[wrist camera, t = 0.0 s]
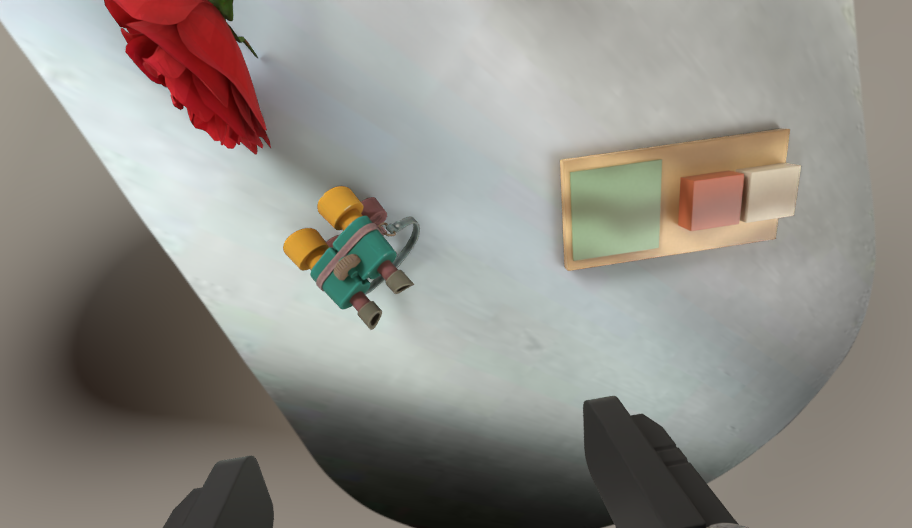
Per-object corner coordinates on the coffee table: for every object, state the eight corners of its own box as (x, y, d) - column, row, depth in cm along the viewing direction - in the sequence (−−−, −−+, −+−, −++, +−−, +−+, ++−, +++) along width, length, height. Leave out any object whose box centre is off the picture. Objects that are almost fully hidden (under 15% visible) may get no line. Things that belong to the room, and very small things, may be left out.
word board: (559, 159, 38) (571, 164, 35) (781, 128, 39) (810, 130, 36) (564, 267, 42) (575, 279, 39) (767, 236, 43) (793, 245, 40)
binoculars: (400, 194, 40) (336, 165, 31) (469, 264, 38) (423, 257, 28) (335, 268, 42) (256, 263, 32) (397, 340, 39) (332, 357, 30)
